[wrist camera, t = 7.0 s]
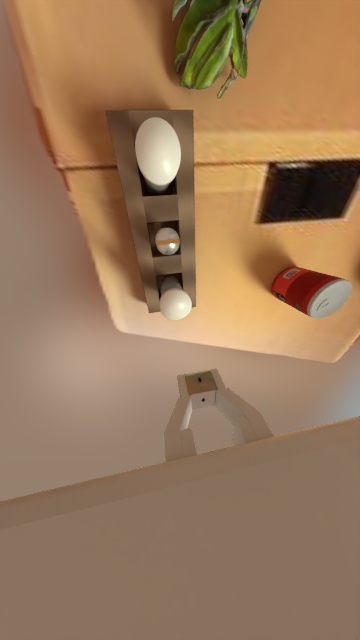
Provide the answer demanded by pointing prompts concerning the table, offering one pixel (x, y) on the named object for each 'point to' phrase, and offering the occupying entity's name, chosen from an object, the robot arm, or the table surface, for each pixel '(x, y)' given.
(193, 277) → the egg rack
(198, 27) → the passion flower
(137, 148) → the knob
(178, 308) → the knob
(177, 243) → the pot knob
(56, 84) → the table surface
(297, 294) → the canned food
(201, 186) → the table surface
